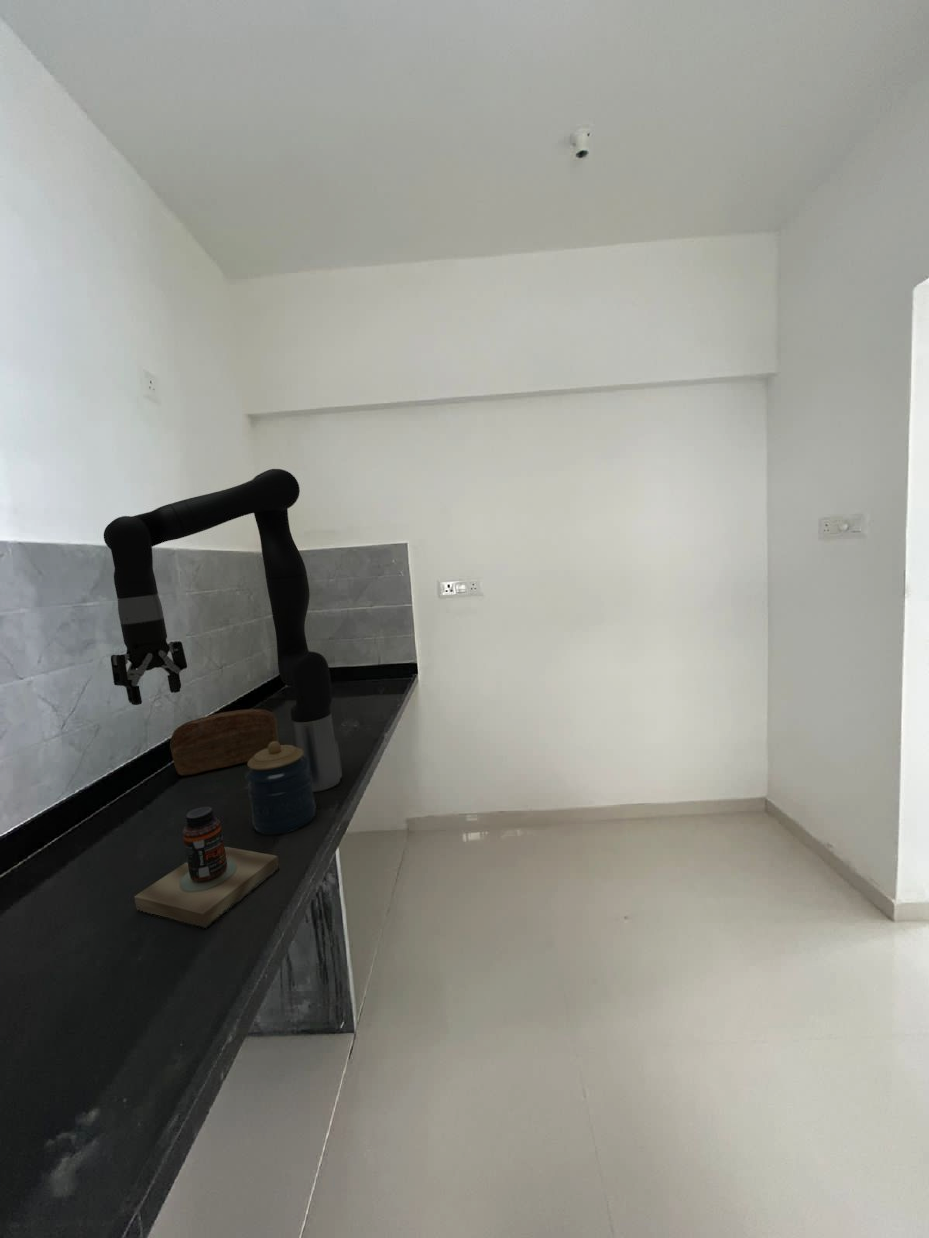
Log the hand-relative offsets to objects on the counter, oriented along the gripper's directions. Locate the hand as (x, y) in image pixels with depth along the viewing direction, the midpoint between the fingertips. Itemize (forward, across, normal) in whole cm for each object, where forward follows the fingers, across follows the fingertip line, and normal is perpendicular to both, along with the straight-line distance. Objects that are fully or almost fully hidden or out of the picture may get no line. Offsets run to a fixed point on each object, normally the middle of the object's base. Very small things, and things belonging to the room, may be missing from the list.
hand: (157, 698), depth 110 cm
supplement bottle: (+28, -12, -22) cm, 37 cm away
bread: (+30, +35, +24) cm, 52 cm away
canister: (+30, +11, -18) cm, 37 cm away
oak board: (+30, -12, -22) cm, 39 cm away
